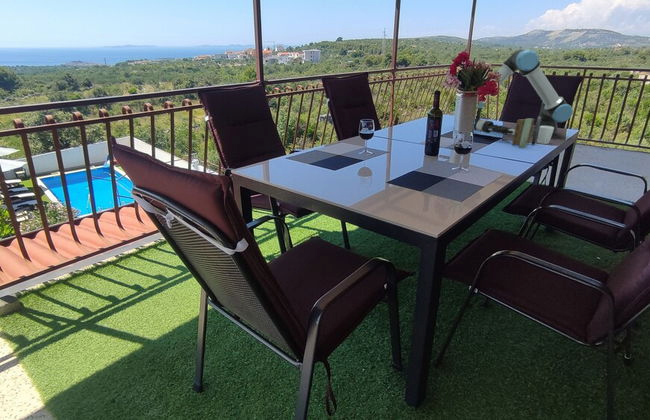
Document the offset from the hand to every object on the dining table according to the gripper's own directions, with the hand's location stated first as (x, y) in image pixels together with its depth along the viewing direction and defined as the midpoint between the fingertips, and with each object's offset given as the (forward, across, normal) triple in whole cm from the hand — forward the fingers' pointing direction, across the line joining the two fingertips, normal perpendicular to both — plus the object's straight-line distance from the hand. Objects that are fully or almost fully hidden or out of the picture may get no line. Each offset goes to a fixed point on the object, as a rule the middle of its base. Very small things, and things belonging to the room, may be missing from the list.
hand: (518, 133), depth 227 cm
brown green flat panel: (+2, -2, -6) cm, 7 cm away
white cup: (+7, -19, -7) cm, 21 cm away
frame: (+6, -2, -7) cm, 9 cm away
